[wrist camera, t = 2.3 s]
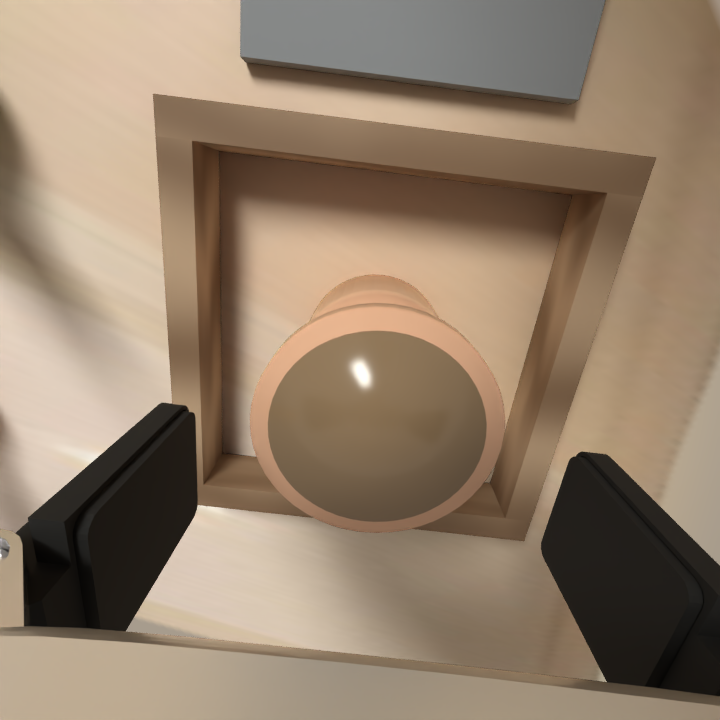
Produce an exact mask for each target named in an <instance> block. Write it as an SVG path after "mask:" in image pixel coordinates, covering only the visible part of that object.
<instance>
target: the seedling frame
mask: <svg viewBox="0 0 720 720" xmlns="http://www.w3.org/2000/svg"><path fill="white" fill-rule="evenodd" d="M153 101H154V118H155V134H156V150H157V166H158V182H159V198H160V214H161V230H162V246H163V262H164V278H165V294H166V310H167V327H168V343H169V359H170V375H171V391H172V404H177V405H186V406H187V407H188V409H189V412H193V413H194V414H195V418H196V453H197V491H198V505H203V506H212V507H221V508H230V509H239V510H248V511H257V512H266V513H275V514H284V515H293V516H302V517H311V518H314V517H312V516H310V515H308V514H306V513H305V512H303V511H302V510H300V509H299V508H297V507H296V506H294V505H293V504H292V503H291V502H289V501H288V500H287V499H286V498H285V497H283V496H282V494H281V493H280V492H279V491H278V490H277V489H276V488H275V487H274V486H273V484H272V483H271V482H270V480H269V479H268V477H267V476H266V475H265V473H264V471H263V469H262V467H261V465H260V463H259V461H258V459H257V457H251V456H243V455H234V454H225V453H223V447H222V361H221V274H220V188H219V151H224V152H232V153H240V154H248V155H256V156H264V157H272V158H280V159H288V160H296V161H304V162H312V163H320V164H328V165H336V166H344V167H352V168H360V169H368V170H376V171H384V172H392V173H400V174H408V175H416V176H424V177H432V178H439V179H447V180H455V181H463V182H471V183H479V184H487V185H495V186H503V187H511V188H519V189H527V190H535V191H543V192H551V193H559V194H567V195H572V198H571V202H570V205H569V209H568V212H567V216H566V219H565V223H564V226H563V230H562V233H561V237H560V240H559V244H558V247H557V251H556V254H555V258H554V262H553V265H552V269H551V272H550V276H549V279H548V283H547V286H546V290H545V293H544V297H543V300H542V304H541V307H540V311H539V314H538V318H537V321H536V325H535V328H534V332H533V335H532V339H531V342H530V346H529V349H528V353H527V356H526V360H525V363H524V367H523V370H522V374H521V377H520V381H519V384H518V388H517V391H516V395H515V398H514V402H513V405H512V409H511V412H510V416H509V419H508V423H507V426H506V430H505V433H504V438H503V442H502V447H501V451H500V453H499V456H498V459H497V462H496V465H495V469H494V472H493V476H492V479H491V483H483V484H482V486H481V487H480V488H479V489H478V490H477V491H476V492H475V493H474V495H473V496H472V497H471V498H469V499H468V500H467V501H466V502H465V503H463V504H462V505H461V506H460V507H458V508H457V509H455V510H454V511H452V512H451V513H449V514H447V515H445V516H443V517H441V518H439V519H437V520H435V521H433V522H430V523H428V524H425V525H422V526H419V527H415V528H411V529H420V530H429V531H438V532H447V533H456V534H465V535H474V536H483V537H492V538H501V539H510V540H519V541H524V540H525V537H526V534H527V531H528V528H529V525H530V522H531V520H532V517H533V514H534V511H535V508H536V505H537V502H538V499H539V496H540V493H541V491H542V488H543V485H544V482H545V479H546V476H547V473H548V470H549V467H550V464H551V462H552V459H553V456H554V453H555V450H556V447H557V444H558V441H559V438H560V435H561V433H562V430H563V427H564V424H565V421H566V418H567V415H568V412H569V409H570V406H571V403H572V401H573V398H574V395H575V392H576V389H577V386H578V383H579V380H580V377H581V374H582V372H583V369H584V366H585V363H586V360H587V357H588V354H589V351H590V348H591V345H592V343H593V340H594V337H595V334H596V331H597V328H598V325H599V322H600V319H601V316H602V314H603V311H604V308H605V305H606V302H607V299H608V296H609V293H610V290H611V287H612V285H613V282H614V279H615V276H616V273H617V270H618V267H619V264H620V261H621V258H622V255H623V253H624V250H625V247H626V244H627V241H628V238H629V235H630V232H631V229H632V226H633V224H634V221H635V218H636V215H637V212H638V209H639V206H640V203H641V200H642V197H643V195H644V192H645V189H646V186H647V183H648V180H649V177H650V174H651V171H652V168H653V166H654V163H655V160H656V158H655V157H647V156H639V155H631V154H623V153H615V152H607V151H600V150H592V149H584V148H576V147H568V146H560V145H552V144H545V143H537V142H529V141H521V140H513V139H505V138H497V137H489V136H482V135H474V134H466V133H458V132H450V131H442V130H434V129H427V128H419V127H411V126H403V125H395V124H387V123H379V122H371V121H364V120H356V119H348V118H340V117H332V116H324V115H316V114H309V113H301V112H293V111H285V110H277V109H269V108H261V107H253V106H246V105H238V104H230V103H222V102H214V101H206V100H198V99H191V98H183V97H175V96H167V95H159V94H153Z"/></svg>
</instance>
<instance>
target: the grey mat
mask: <svg viewBox="0 0 720 720" xmlns="http://www.w3.org/2000/svg"><path fill="white" fill-rule="evenodd" d="M604 4H605V0H241V35H240V56H241V58H242V59H243V60H244V61H245V62H248V63H255V64H263V65H271V66H279V67H286V68H294V69H302V70H310V71H317V72H325V73H333V74H341V75H348V76H356V77H364V78H372V79H380V80H387V81H395V82H403V83H411V84H418V85H426V86H434V87H442V88H449V89H457V90H465V91H473V92H480V93H488V94H496V95H504V96H511V97H519V98H527V99H535V100H542V101H550V102H558V103H566V104H572V103H574V102H576V101H578V100H579V97H580V93H581V89H582V86H583V82H584V78H585V74H586V71H587V67H588V63H589V59H590V56H591V52H592V48H593V45H594V41H595V37H596V33H597V30H598V26H599V22H600V19H601V15H602V11H603V7H604Z"/></svg>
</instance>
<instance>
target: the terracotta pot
mask: <svg viewBox="0 0 720 720" xmlns="http://www.w3.org/2000/svg"><path fill="white" fill-rule="evenodd" d="M250 429H251V437H252V442H253V447H254V450H255V453H256V456H257V459H258V461H259V463H260V465H261V467H262V469H263V471H264V473H265V475H266V476H267V477H268V479H269V480H270V482H271V483H272V484H273V486H274V487H275V488H276V489H277V490H278V491H279V492H280V493H281V494H282V496H283V497H285V498H286V499H287V500H288V501H289V502H291V503H292V504H293V505H294V506H296V507H297V508H299V509H300V510H302V511H303V512H305V513H306V514H308V515H310V516H312V517H314V518H316V519H318V520H320V521H322V522H325V523H327V524H330V525H333V526H336V527H340V528H344V529H348V530H354V531H360V532H374V533H380V532H395V531H402V530H407V529H411V528H415V527H419V526H422V525H425V524H428V523H430V522H433V521H435V520H437V519H439V518H441V517H443V516H445V515H447V514H449V513H451V512H452V511H454V510H455V509H457V508H458V507H460V506H461V505H462V504H463V503H465V502H466V501H467V500H468V499H469V498H471V497H472V496H473V495H474V493H475V492H476V491H477V490H478V489H479V488H480V487H481V486H482V484H483V483H484V482H485V480H486V479H487V478H488V476H489V475H490V473H491V471H492V469H493V467H494V465H495V464H496V461H497V459H498V456H499V453H500V451H501V447H502V442H503V438H504V429H505V414H504V404H503V401H502V397H501V393H500V389H499V387H498V385H497V382H496V380H495V378H494V375H493V374H492V372H491V371H490V369H489V367H488V366H487V364H486V363H485V361H484V360H483V358H482V357H481V356H480V354H479V353H478V352H477V350H476V349H475V348H474V347H473V346H472V344H471V343H470V342H469V341H468V340H467V339H466V338H465V337H464V336H463V335H462V334H461V333H459V332H458V331H457V330H456V329H455V328H453V327H452V326H450V325H449V324H447V323H446V322H444V321H443V320H441V319H439V317H438V316H437V314H436V312H435V311H434V309H433V307H432V306H431V304H430V303H429V301H428V300H427V299H426V298H425V296H424V295H423V294H422V293H421V292H419V291H418V290H417V289H416V288H415V287H413V286H412V285H410V284H409V283H406V282H404V281H402V280H400V279H397V278H394V277H390V276H385V275H364V276H360V277H355V278H353V279H350V280H347V281H345V282H343V283H341V284H339V285H338V286H337V287H335V288H334V289H332V290H331V291H330V292H329V293H328V294H327V295H326V296H325V297H324V298H323V300H322V301H321V302H320V304H319V305H318V307H317V308H316V310H315V312H314V314H313V316H312V317H311V319H310V321H309V322H308V323H307V324H305V325H304V326H302V327H301V328H299V329H298V330H297V331H296V332H294V333H293V334H292V335H291V336H290V337H289V338H288V339H287V340H286V341H285V342H284V343H283V344H282V346H281V347H280V348H279V349H278V351H277V352H276V353H275V355H274V356H273V358H272V359H271V361H270V362H269V364H268V365H267V367H266V369H265V370H264V372H263V374H262V375H261V377H260V380H259V382H258V384H257V387H256V389H255V392H254V396H253V400H252V404H251V414H250Z"/></svg>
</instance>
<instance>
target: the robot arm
mask: <svg viewBox="0 0 720 720" xmlns="http://www.w3.org/2000/svg"><path fill="white" fill-rule="evenodd" d="M197 505H198V491H197V453H196V418H195V414H194V413H193V412H189V409H188V407H187V406H186V405H177V404H169V403H161V404H159V405H158V406H157V407H155V408H154V409H153V410H152V411H151V412H150V413H149V414H147V415H146V416H145V417H144V418H143V419H142V420H140V421H139V422H138V423H137V424H136V425H135V426H134V427H132V428H131V429H130V430H129V431H128V432H127V433H125V434H124V435H123V436H122V437H121V438H120V439H119V440H117V441H116V442H115V443H114V444H113V445H112V446H110V447H109V448H108V449H107V450H106V451H105V452H103V453H102V454H101V455H100V456H99V457H98V458H97V459H95V460H94V461H93V462H92V463H91V464H90V465H88V466H87V467H86V468H85V469H84V470H83V471H82V472H80V473H79V474H78V475H77V476H76V477H75V478H73V479H72V480H71V481H70V482H69V483H68V484H67V485H65V486H64V487H63V488H62V489H61V490H60V491H58V492H57V493H56V494H55V495H54V496H53V497H52V498H50V499H49V500H48V501H47V502H46V503H45V504H43V505H42V506H41V507H40V508H39V509H38V510H36V511H35V512H34V513H33V514H32V515H31V516H30V517H28V521H29V522H28V523H26V524H25V525H24V526H23V527H22V528H21V529H20V530H18V531H17V532H16V533H14V532H12V531H9V530H4V529H0V720H720V566H719V565H718V564H717V563H716V562H715V561H714V560H713V559H712V558H711V557H710V556H709V555H708V554H707V553H706V552H705V551H704V550H703V549H702V548H701V547H700V546H699V545H698V544H697V543H696V542H695V541H694V540H693V539H692V538H691V537H690V536H689V535H688V534H687V533H686V532H685V531H684V530H683V529H682V528H681V527H680V526H679V525H678V524H677V523H676V522H675V521H674V520H673V519H672V518H671V517H670V516H669V515H668V514H667V513H666V512H665V511H664V510H663V509H662V508H661V507H660V506H659V505H658V504H657V503H656V502H655V501H654V500H653V499H652V498H651V497H650V496H649V495H648V494H647V493H646V492H645V491H644V490H643V489H642V488H641V487H640V486H639V485H638V484H637V483H636V482H635V481H634V480H633V479H632V478H631V477H630V476H629V475H628V474H627V473H626V472H625V471H624V470H623V469H622V468H621V467H620V466H619V465H618V464H617V463H616V462H615V461H614V460H613V459H611V458H610V457H609V456H608V455H606V454H598V453H590V452H580V453H578V454H577V456H576V457H572V458H571V459H570V460H569V463H568V465H567V468H566V471H565V474H564V477H563V480H562V483H561V486H560V489H559V492H558V495H557V498H556V501H555V503H554V506H553V509H552V512H551V515H550V518H549V521H548V524H547V527H546V530H545V533H544V536H543V539H542V542H541V551H542V555H543V558H544V560H545V562H546V564H547V566H548V567H549V569H550V571H551V573H552V575H553V577H554V579H555V581H556V583H557V585H558V587H559V589H560V591H561V593H562V595H563V597H564V599H565V601H566V603H567V605H568V607H569V609H570V611H571V613H572V615H573V616H574V618H575V620H576V622H577V624H578V626H579V628H580V630H581V632H582V634H583V636H584V638H585V640H586V642H587V644H588V646H589V648H590V650H591V652H592V654H593V656H594V658H595V660H596V662H597V664H598V665H599V667H600V669H601V671H602V673H603V675H604V677H605V679H606V681H607V682H600V681H592V680H583V679H574V678H566V677H557V676H548V675H540V674H531V673H522V672H514V671H505V670H496V669H487V668H478V667H469V666H459V665H450V664H441V663H432V662H423V661H414V660H405V659H395V658H386V657H377V656H368V655H358V654H349V653H340V652H331V651H321V650H311V649H301V648H292V647H282V646H272V645H262V644H253V643H243V642H233V641H224V640H214V639H204V638H194V637H185V636H172V635H161V634H148V633H137V632H126V630H127V628H128V626H129V625H130V623H131V621H132V620H133V618H134V616H135V615H136V613H137V611H138V610H139V608H140V606H141V605H142V603H143V601H144V600H145V598H146V596H147V595H148V593H149V591H150V590H151V588H152V586H153V585H154V583H155V581H156V580H157V578H158V576H159V575H160V573H161V571H162V570H163V568H164V566H165V565H166V563H167V561H168V560H169V558H170V556H171V555H172V553H173V551H174V550H175V548H176V546H177V544H178V543H179V541H180V539H181V538H182V536H183V534H184V533H185V531H186V529H187V528H188V526H189V524H190V523H191V521H192V519H193V518H194V516H195V513H196V510H197Z"/></svg>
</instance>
